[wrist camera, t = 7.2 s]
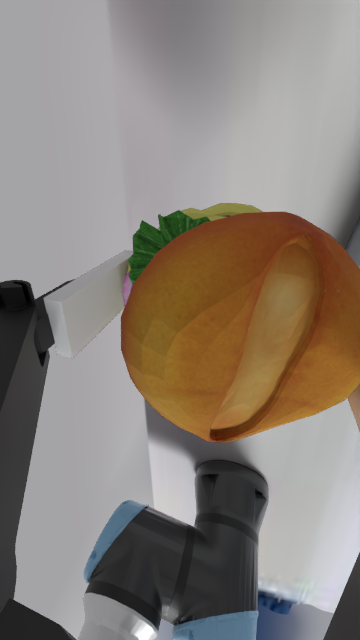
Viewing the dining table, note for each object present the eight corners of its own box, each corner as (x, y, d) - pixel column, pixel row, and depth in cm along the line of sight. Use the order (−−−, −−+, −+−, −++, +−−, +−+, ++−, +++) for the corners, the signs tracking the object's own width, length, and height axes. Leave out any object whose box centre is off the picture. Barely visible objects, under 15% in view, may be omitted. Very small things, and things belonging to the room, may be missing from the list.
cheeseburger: (107, 233, 15) (-23, 281, 6) (285, 166, 13) (480, 93, 4) (164, 363, 19) (136, 506, 10) (307, 327, 17) (430, 468, 8)
